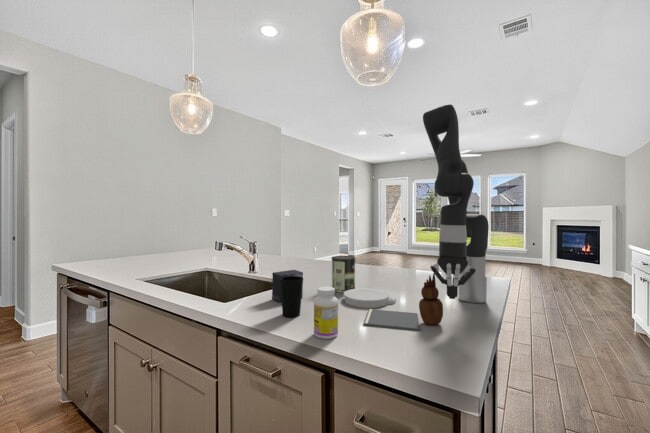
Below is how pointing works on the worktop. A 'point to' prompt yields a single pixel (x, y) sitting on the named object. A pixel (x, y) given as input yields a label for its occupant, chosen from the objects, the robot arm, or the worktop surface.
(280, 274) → the small box
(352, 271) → the coffee can
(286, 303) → the cup
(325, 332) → the supplement bottle
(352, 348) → the worktop surface
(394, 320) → the book
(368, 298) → the lid
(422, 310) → the wooden figurine
